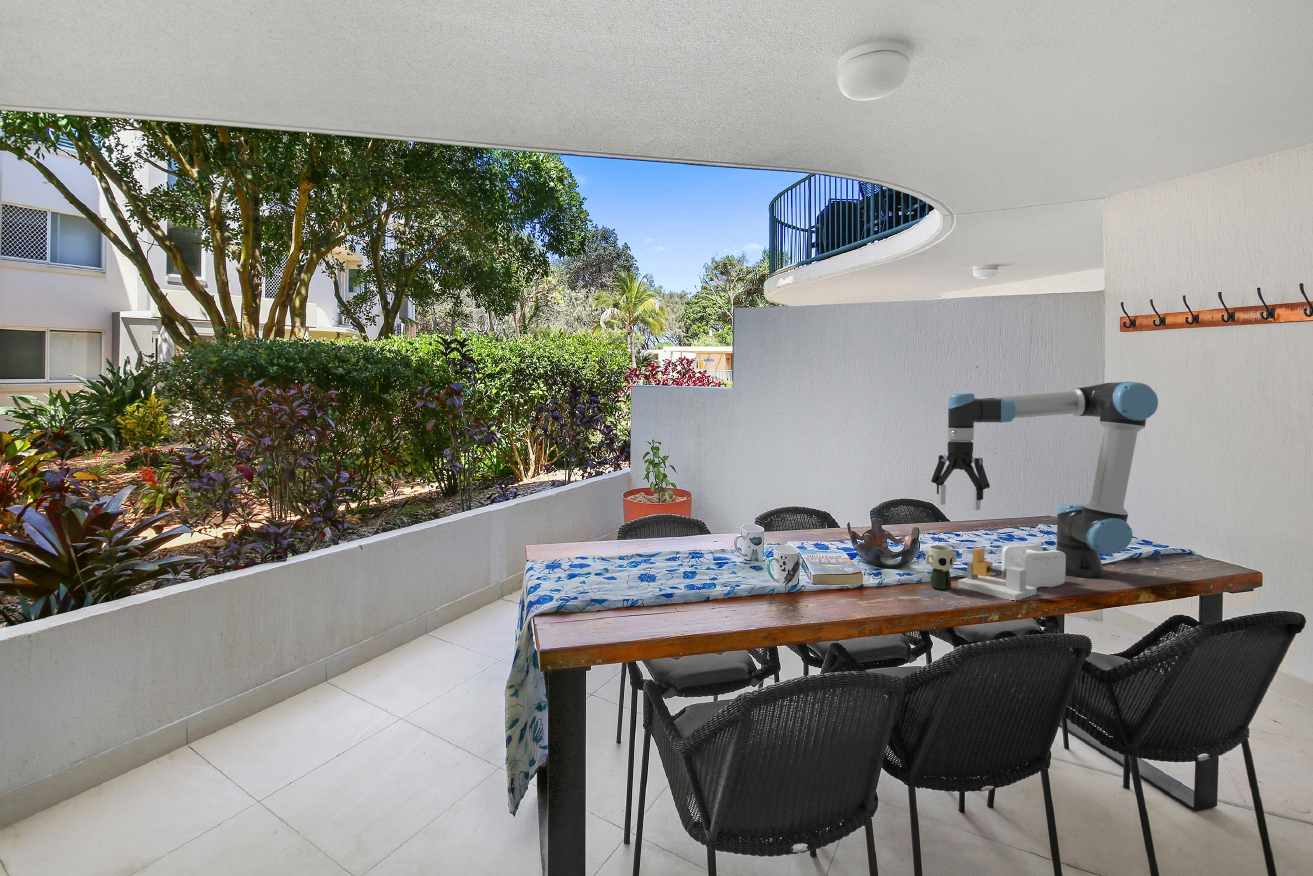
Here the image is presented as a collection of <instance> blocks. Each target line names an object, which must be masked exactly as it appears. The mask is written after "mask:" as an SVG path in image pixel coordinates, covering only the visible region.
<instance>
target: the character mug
mask: <svg viewBox="0 0 1313 876" xmlns="http://www.w3.org/2000/svg"><path fill="white" fill-rule="evenodd" d="M956 562H957V552H956V551H954V548H953V547H952V546H947V545H941V544H935V545H930V546H929V548H928V553H927V554H926V555H925V564H926V565H927V566H928V565H929V567H931V568H932V570H931V575H930V581H929V586H931V587H933V588H935V589H940V590H946V589H947V587H948V589H949V590H950V589H951V588H952V581H951V579H952V578H951V572H950V570H951V569H953V567H954V565H955V563H956Z"/></svg>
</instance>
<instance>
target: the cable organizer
mask: <svg viewBox="0 0 1313 876" xmlns="http://www.w3.org/2000/svg"><path fill="white" fill-rule="evenodd" d="M1012 566H1014V567H1018V568H1023V569H1026V585H1027V586H1031V587H1035V588H1036V589H1039V588H1043V587H1046V588H1054V587H1055V586H1056V587H1058V586H1062V585H1063V584H1064V583H1065V582H1066V574H1065V569H1066V555H1065V553H1064V552H1061V551H1058V550H1056V549H1055V550H1044V549H1043V547H1042V546H1041V545H1039V544H1036V543H1030V544H1029V543H1028V544H1016V545H1015V544H1013V545H1006V546H1005V547H1003V548H1002V551H1001V570H1002V571H1003V569H1004V568H1009V567H1012ZM1004 580H1006V578H1004Z"/></svg>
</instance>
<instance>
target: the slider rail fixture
mask: <svg viewBox="0 0 1313 876" xmlns="http://www.w3.org/2000/svg"><path fill="white" fill-rule="evenodd" d="M966 566H967V568H966V577H964V578H961V579H958V580H957V587H959V588H962V589H967V590H970V591H973V590H974V592H977V591H978V593H982V594H985V595H989V596H994V597H997V598H999V599H1000V598H1001V599H1003V600H1004V599H1005V600H1007V599H1009V600H1008V601H1011V600H1015V601H1014V602H1017V601H1016V600H1018V601H1020V600H1019V599H1021V600H1023V599H1022V598H1024V599H1026V598H1025V597H1027V598H1029V596H1030V597H1032V595H1033V596H1036V595H1037V588H1035V587H1031V586H1027V585H1026V569H1023V568H1018V567H1014V566H1012V567H1009V568H1004V569H1003V571H1002V569H1001V570H1000V569H996V568H993V567H992V568H988V567H987V571H989V572H992V574H993V573H994V574H998V575H1001V576H1002V579H1001V578H997V577H992V576H991V575H989V576H986V577H984V576H980V575H975V574H973V560H972V561H971V562H970V561H967V562H966ZM1003 578H1004V579H1003ZM1005 578H1006V579H1005Z"/></svg>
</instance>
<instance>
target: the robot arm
mask: <svg viewBox="0 0 1313 876" xmlns="http://www.w3.org/2000/svg"><path fill="white" fill-rule="evenodd" d="M1158 406H1159V399H1158V396H1157V393H1156V392H1155V390H1153V389H1152V387H1150V386H1149V385H1148V384H1145V383H1143V382H1137V381H1120V382H1119V381H1118V382H1117V381H1116V382H1105V383H1100V384H1099V383H1098V384H1094V385H1090V386H1089V385H1087V386H1084V387H1083V386H1081V387H1074V388H1072V389H1071V390H1070V391H1060V392H1059V391H1058V392H1049V393H1047V392H1046V393H1035V394H1023V395H1011V396H1010V395H1009V396H999V397H998V396H997V397H986V398H985V397H984V398H976V397H975V394H974V393H970V392H969V393H951V394H950V395H949V397H948V406H947V410H948V411H947V412H948V413H947V414H948V416H947V422H948V424H947V426H948V427H947V439H948V442H947V452H948V454H947V455H946V454H940V455H938V460H937V461H938V462H937V465H936V467H935V470H934V473H933V474H932V477H931V480H930V481H931V483H933V484H935V485H936V495H938V506H945V505H946V498H947V497H946V489H947V485H945V482H946V481H947V480H948V478H949V477H950V476H951V474H952V472H953V471H954V470H960V471H964V472H965V473H966V474H967V476H968V478H969V479H970V481H971V482H972V484H973V486H974V487H975V489H974V490H973V505H972V506H973V508H972V509H973V511H980V510H981V501H983V500H984V490H986V489H990V487H991V485H990V482H989V480H988V477H987V474H986V471H985V468H984V465H983V462H984V460H983V457H974V456H973V453H974V442H973V440H974V432H975V431H974V429H975V428H974V427H975V424H974V423H1001V424H1003V423H1011V422H1012V421H1013V420H1014V419H1019V418H1020V419H1021V418H1031V417H1033V418H1034V417H1044V416H1045V417H1049V416H1059V415H1060V416H1062V415H1063V416H1064V415H1073V416H1075V417H1096V418H1099V424H1100V425H1101V426H1102V428H1103V433H1102V437H1101V443H1100V449H1099V454H1098V458H1097V460H1098V461H1097V465H1096V471H1095V475H1094V481H1093V486H1092V493H1091V497H1090V501H1089V502H1088V503H1086V504H1060V505H1059V506H1058V508H1057V513H1056V548H1055V550H1058V551H1061V552H1064V553H1065V555H1066V569H1065V576H1072V577H1073V576H1074V577H1080V578H1082V577H1083V578H1097V577H1098V576H1099V577H1102V576H1103V575H1104V565H1103V563H1102V560H1101V557H1100V555H1099V553H1102V554H1107V555H1111V554H1117V553H1120V552H1122V551H1123V550H1124V551H1125V549H1127V548H1128V546H1130V545H1131V544H1130V543H1132V541H1133V530H1132V528H1131V527H1130V525H1129V524H1128V518H1129V517H1128V516H1129V513H1128V511H1127V510H1126V509H1125V508H1124V506H1125V501H1126V495H1127V489H1128V485H1129V484H1128V483H1129V479H1130V474H1131V469H1132V464H1133V457H1134V455H1135V447H1136V444H1137V443H1136V442H1137V437H1138V433H1139V432H1140V431H1141V430H1142V429H1145V428H1146V423H1147V419H1149V418H1151V417H1152V416H1153V415H1154V414H1155V413H1156V411H1157V410H1158ZM947 462H948V464H947ZM972 463H973V465H974V467H973V465H972ZM946 464H947V465H946ZM945 465H946V467H945ZM974 468H975V469H974ZM975 470H976V471H975ZM1099 577H1098V578H1099Z"/></svg>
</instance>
